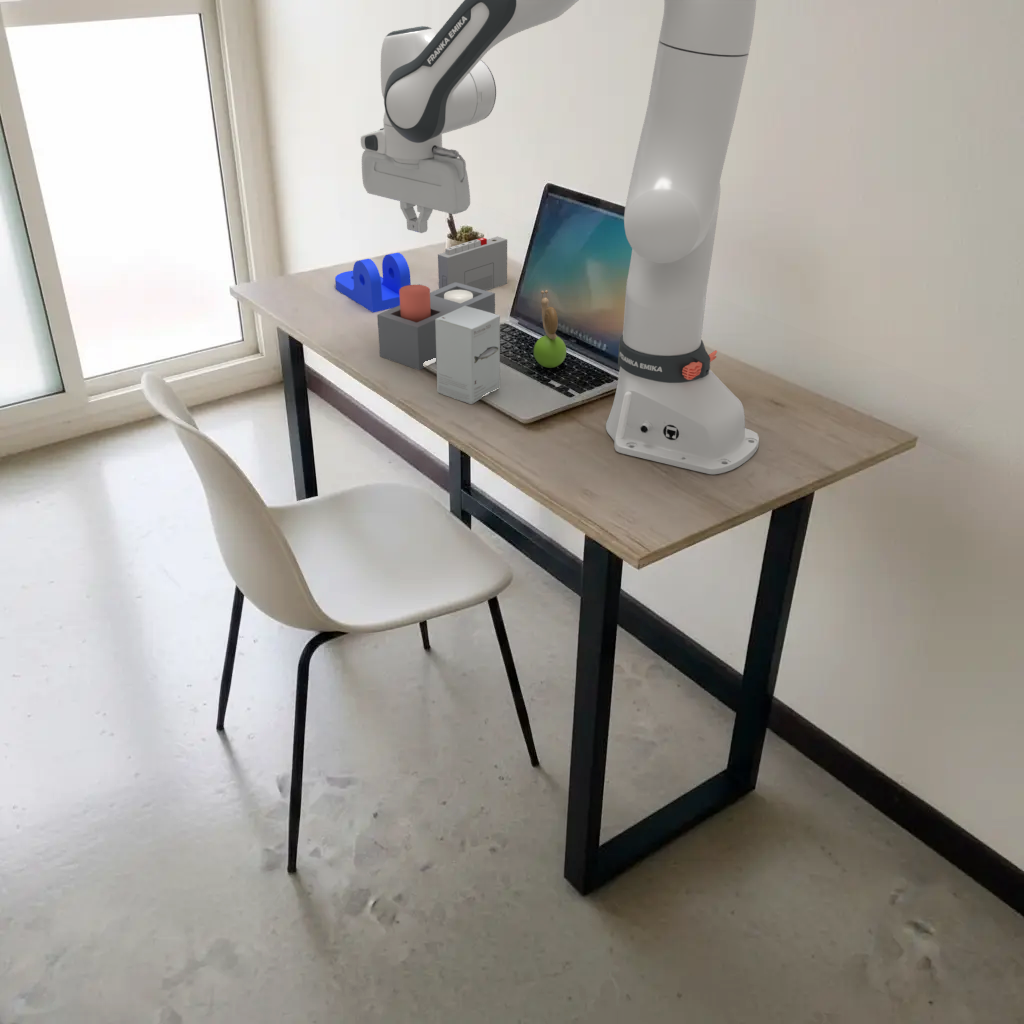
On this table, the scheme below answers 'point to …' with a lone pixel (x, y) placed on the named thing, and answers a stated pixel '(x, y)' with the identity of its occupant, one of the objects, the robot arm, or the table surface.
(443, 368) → the supplement box
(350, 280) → the bracket
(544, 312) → the snail figurine
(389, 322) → the block
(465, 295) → the plug
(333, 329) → the table surface
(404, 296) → the red plug
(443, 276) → the cassette player
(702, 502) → the table surface
